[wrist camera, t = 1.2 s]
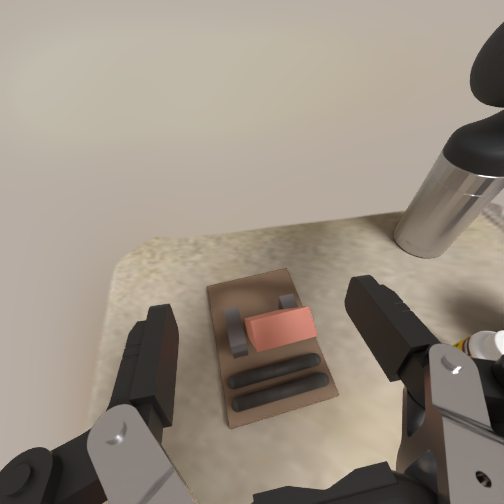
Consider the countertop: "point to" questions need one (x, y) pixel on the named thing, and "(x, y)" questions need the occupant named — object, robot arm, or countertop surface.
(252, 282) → the switch board
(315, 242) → the countertop surface
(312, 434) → the countertop surface
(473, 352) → the supplement bottle
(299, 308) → the lever
